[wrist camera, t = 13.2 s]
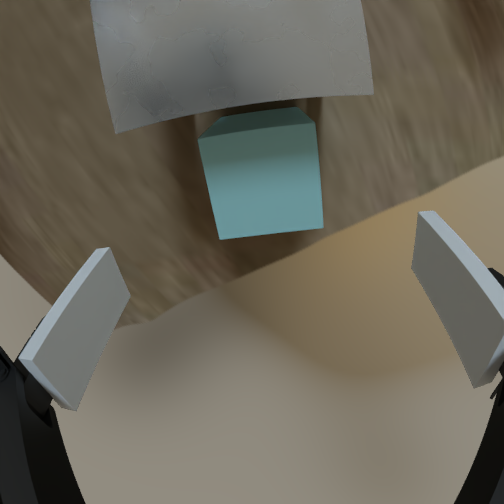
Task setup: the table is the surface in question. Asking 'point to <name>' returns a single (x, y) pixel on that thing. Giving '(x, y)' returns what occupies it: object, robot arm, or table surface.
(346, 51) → the grey open box
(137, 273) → the table surface
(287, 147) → the block
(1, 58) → the table surface
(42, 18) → the table surface
